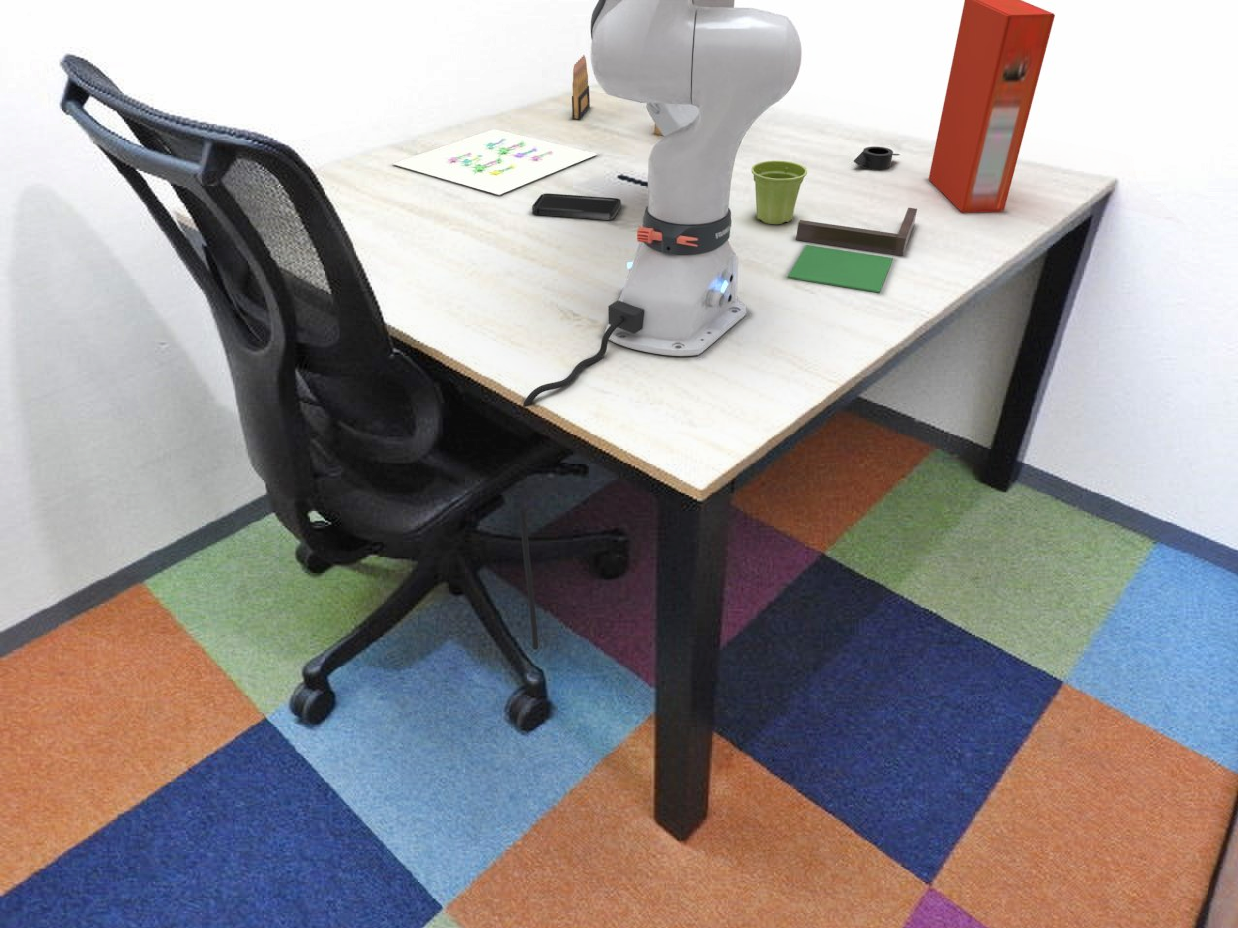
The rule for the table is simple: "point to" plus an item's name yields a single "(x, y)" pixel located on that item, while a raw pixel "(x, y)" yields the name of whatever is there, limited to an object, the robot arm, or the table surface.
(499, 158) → the printed paper
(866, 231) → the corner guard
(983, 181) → the file binder
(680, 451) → the table surface
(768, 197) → the plant pot
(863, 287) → the green cloth
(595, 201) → the phone
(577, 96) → the ammunition clip
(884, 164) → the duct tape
